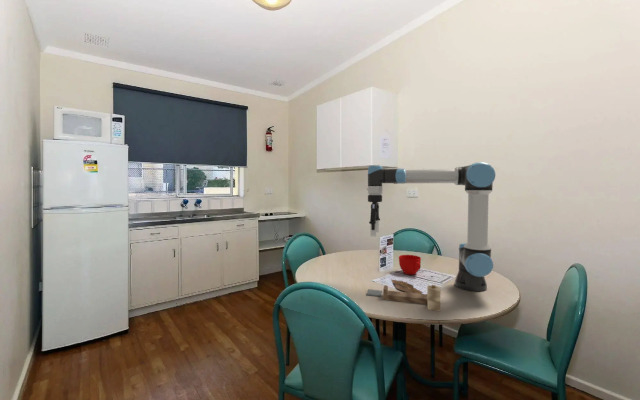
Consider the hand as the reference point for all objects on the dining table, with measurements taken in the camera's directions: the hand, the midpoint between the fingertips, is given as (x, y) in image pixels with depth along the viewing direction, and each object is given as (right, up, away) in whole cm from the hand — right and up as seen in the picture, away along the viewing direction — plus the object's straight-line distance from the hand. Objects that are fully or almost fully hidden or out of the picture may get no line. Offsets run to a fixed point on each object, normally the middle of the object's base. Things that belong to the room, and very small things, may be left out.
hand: (374, 234), depth 155 cm
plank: (+13, -29, -19) cm, 37 cm away
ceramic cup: (+26, -27, +22) cm, 44 cm away
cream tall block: (+21, -29, -28) cm, 45 cm away
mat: (-2, -29, -10) cm, 30 cm away
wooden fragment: (+15, -29, -1) cm, 32 cm away
